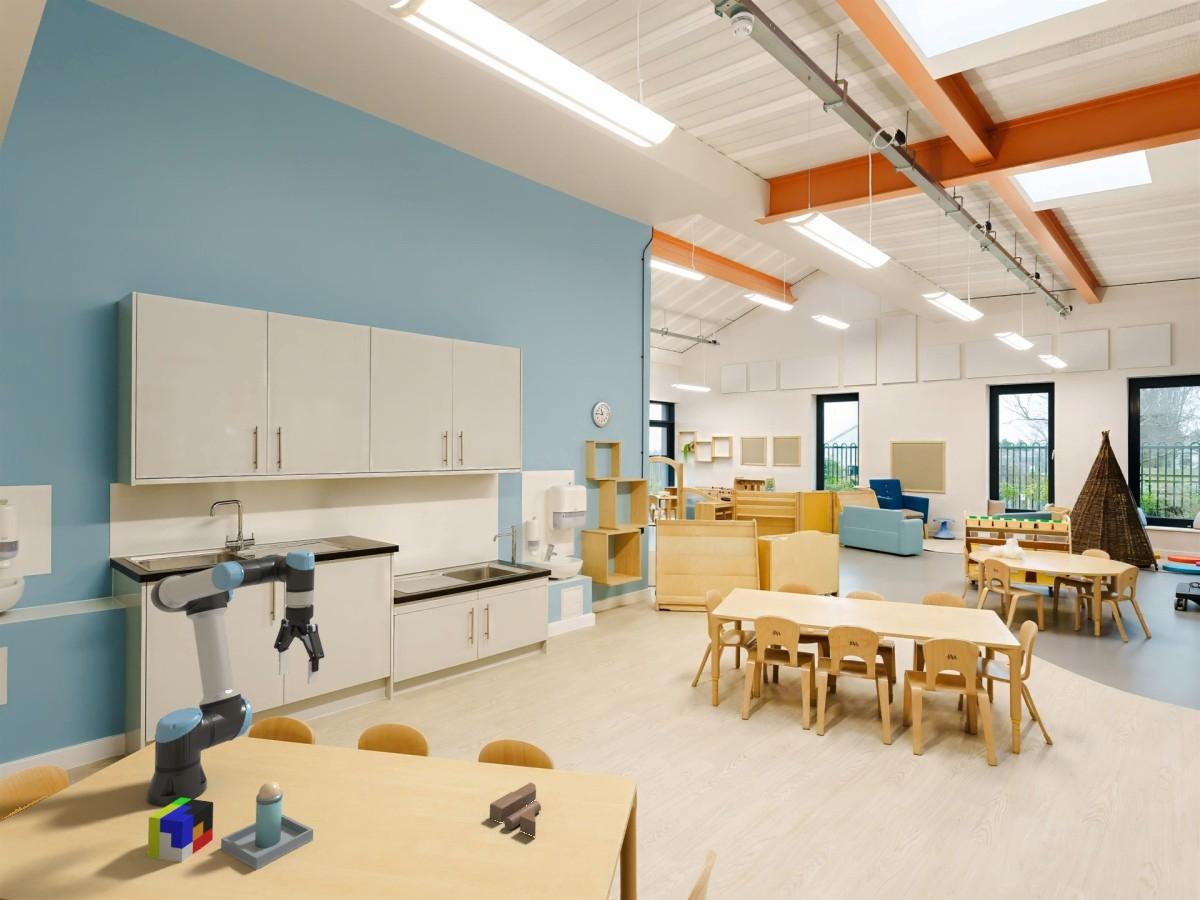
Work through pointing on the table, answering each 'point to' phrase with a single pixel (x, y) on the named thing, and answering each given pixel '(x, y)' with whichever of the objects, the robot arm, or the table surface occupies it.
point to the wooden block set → (517, 809)
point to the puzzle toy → (180, 829)
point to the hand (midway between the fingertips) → (298, 678)
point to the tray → (255, 857)
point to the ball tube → (268, 815)
